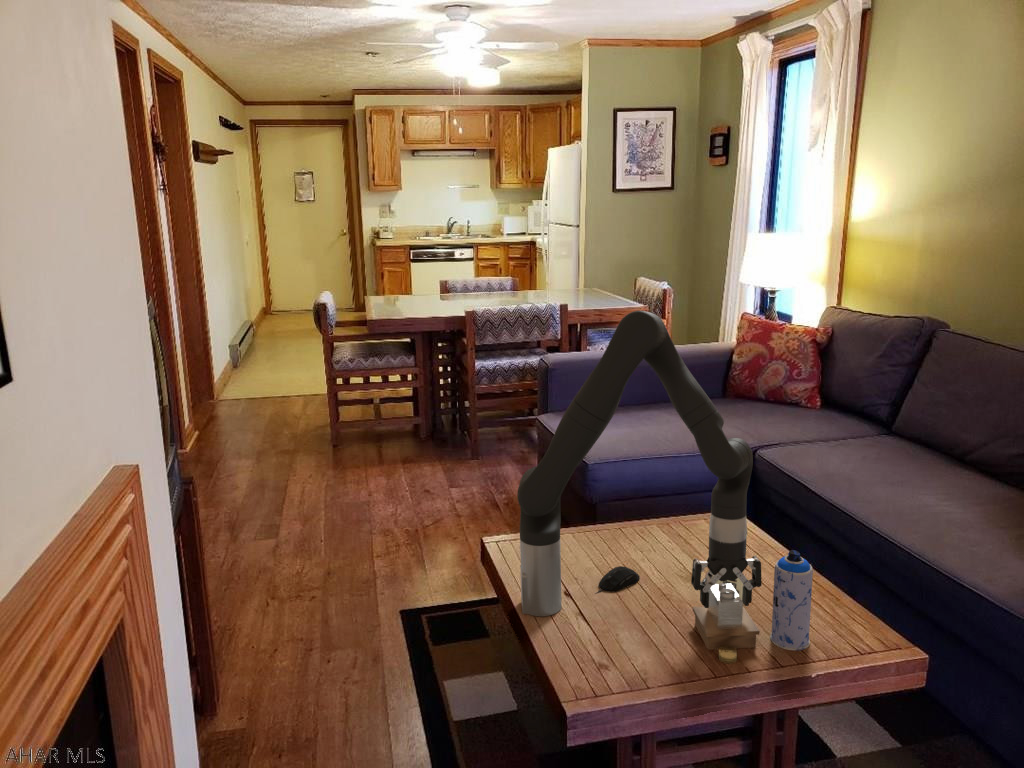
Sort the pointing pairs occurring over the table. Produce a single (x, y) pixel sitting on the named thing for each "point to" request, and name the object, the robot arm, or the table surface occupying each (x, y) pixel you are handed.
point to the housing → (725, 606)
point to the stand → (725, 631)
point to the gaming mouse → (618, 579)
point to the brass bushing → (727, 654)
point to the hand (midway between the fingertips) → (725, 605)
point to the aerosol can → (792, 602)
